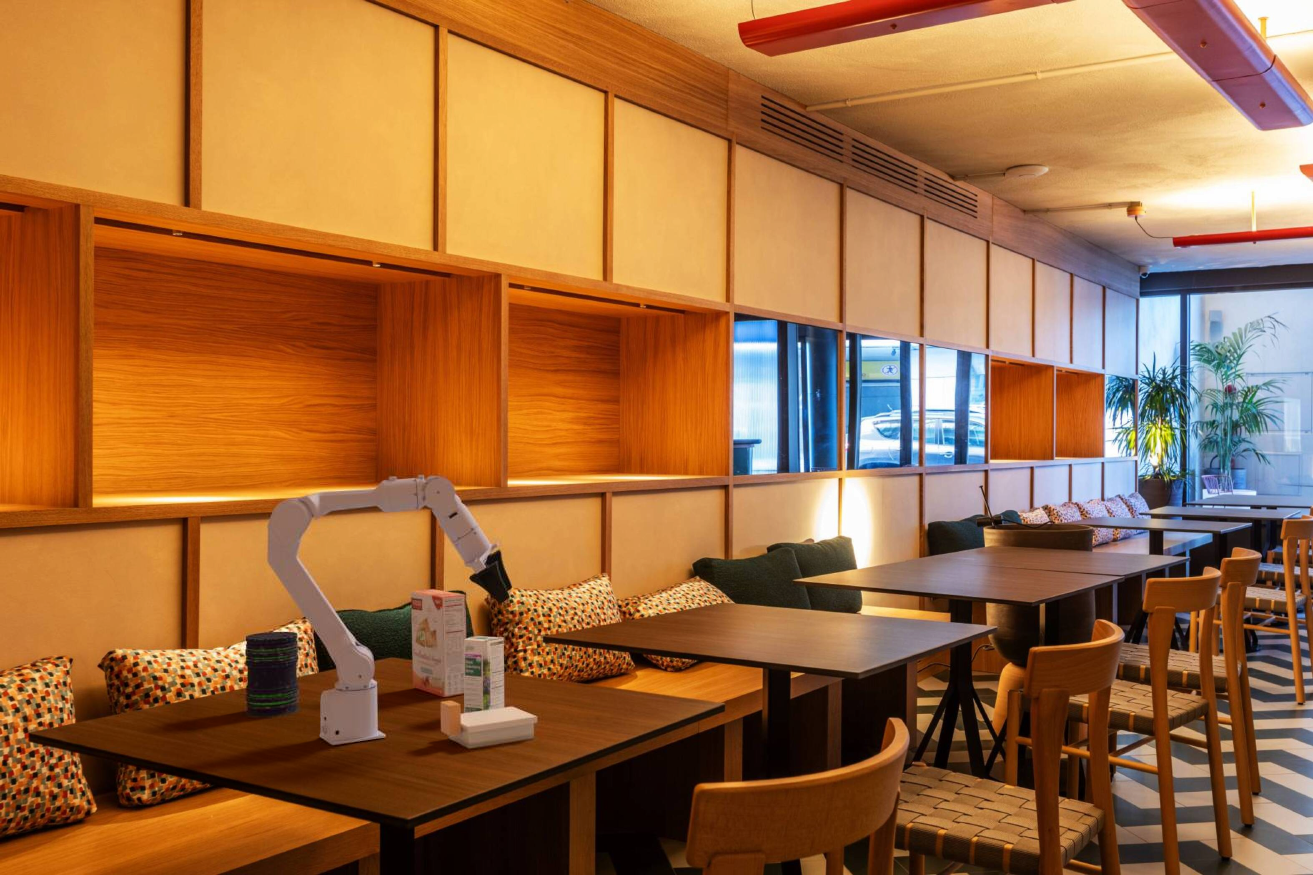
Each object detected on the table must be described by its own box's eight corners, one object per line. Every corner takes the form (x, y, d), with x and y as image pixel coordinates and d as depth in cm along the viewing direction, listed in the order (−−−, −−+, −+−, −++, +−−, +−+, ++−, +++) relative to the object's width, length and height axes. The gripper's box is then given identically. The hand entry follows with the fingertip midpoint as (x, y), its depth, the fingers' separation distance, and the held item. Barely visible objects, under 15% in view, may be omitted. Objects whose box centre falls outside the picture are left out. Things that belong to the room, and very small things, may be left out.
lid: (456, 739, 189) (456, 709, 189) (434, 727, 198) (433, 698, 198) (537, 726, 197) (536, 697, 197) (512, 716, 206) (511, 688, 206)
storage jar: (235, 716, 220) (234, 638, 220) (264, 705, 229) (263, 631, 230) (281, 718, 217) (280, 639, 218) (308, 707, 227) (307, 631, 227)
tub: (469, 748, 191) (468, 730, 191) (448, 738, 199) (448, 720, 199) (533, 738, 197) (533, 720, 198) (511, 728, 205) (511, 711, 205)
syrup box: (463, 715, 217) (461, 638, 217) (481, 709, 222) (480, 634, 222) (487, 718, 214) (486, 640, 214) (505, 711, 219) (504, 636, 220)
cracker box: (410, 688, 244) (409, 590, 244) (436, 684, 248) (434, 588, 248) (442, 698, 233) (440, 595, 234) (468, 694, 237) (466, 593, 237)
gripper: (480, 529, 199) (522, 592, 201) (486, 515, 214) (526, 574, 215) (446, 550, 199) (489, 614, 201) (455, 535, 214) (495, 595, 215)
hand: (506, 595), depth 208 cm, fingers open, 7 cm apart
